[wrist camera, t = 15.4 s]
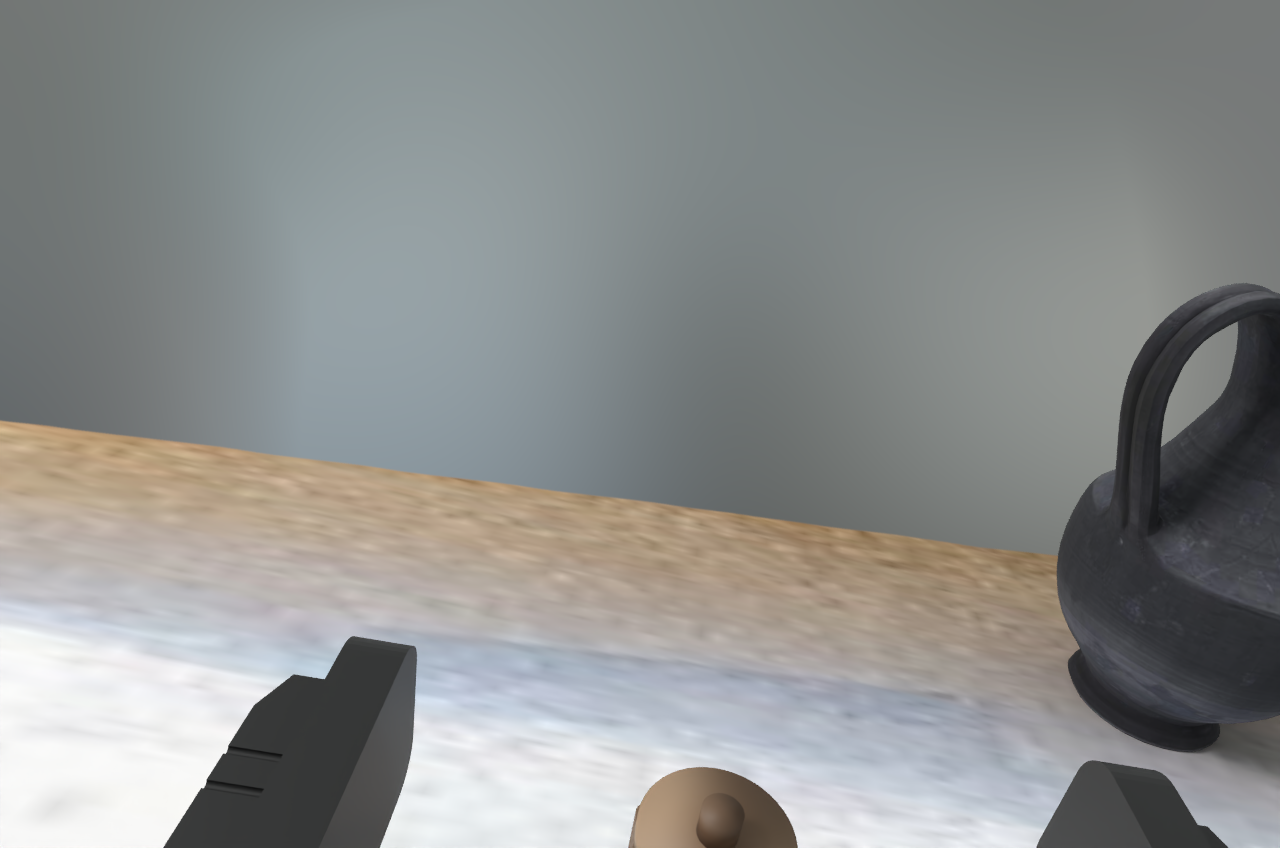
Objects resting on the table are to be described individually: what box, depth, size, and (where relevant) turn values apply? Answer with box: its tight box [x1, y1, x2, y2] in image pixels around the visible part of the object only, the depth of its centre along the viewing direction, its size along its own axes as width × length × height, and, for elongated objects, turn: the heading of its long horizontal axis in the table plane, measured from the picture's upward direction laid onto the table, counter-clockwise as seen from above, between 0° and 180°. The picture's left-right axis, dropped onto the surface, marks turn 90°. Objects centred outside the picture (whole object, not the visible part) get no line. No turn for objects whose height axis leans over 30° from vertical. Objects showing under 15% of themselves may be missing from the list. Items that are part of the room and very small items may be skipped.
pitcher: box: [1057, 283, 1280, 752], centre depth 53 cm, size 17×21×30 cm
